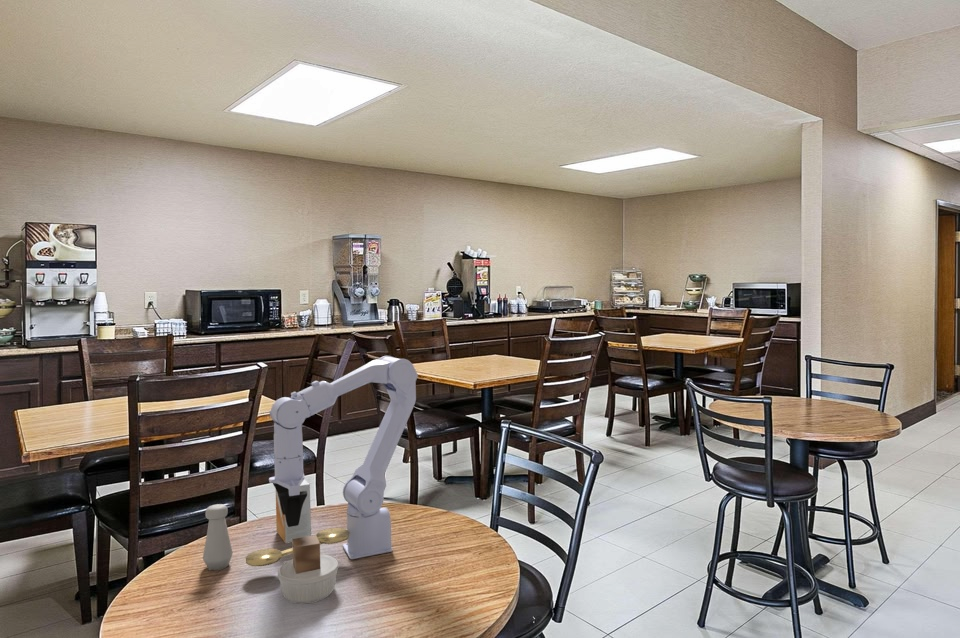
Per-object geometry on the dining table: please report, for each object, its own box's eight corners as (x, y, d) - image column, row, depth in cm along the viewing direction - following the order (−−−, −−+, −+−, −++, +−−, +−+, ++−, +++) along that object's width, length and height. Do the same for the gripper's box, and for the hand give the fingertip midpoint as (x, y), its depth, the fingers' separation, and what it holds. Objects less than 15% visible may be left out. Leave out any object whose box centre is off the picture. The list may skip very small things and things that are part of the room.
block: (316, 559, 121) (315, 534, 121) (320, 568, 117) (319, 543, 117) (293, 564, 119) (292, 538, 119) (296, 573, 115) (295, 547, 115)
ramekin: (266, 595, 118) (266, 568, 117) (315, 574, 126) (315, 549, 126) (301, 614, 111) (300, 585, 110) (350, 590, 119) (349, 563, 119)
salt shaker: (222, 573, 127) (220, 511, 126) (197, 571, 128) (195, 510, 127) (238, 561, 132) (236, 502, 132) (214, 559, 134) (212, 500, 133)
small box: (276, 532, 148) (274, 479, 148) (302, 527, 152) (301, 475, 151) (284, 544, 141) (283, 488, 141) (312, 538, 145) (310, 483, 144)
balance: (345, 552, 136) (345, 525, 136) (353, 565, 130) (352, 537, 130) (245, 571, 127) (244, 543, 127) (247, 586, 121) (246, 556, 121)
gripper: (264, 449, 133) (266, 511, 133) (272, 466, 119) (274, 535, 120) (298, 445, 136) (299, 506, 136) (309, 462, 122) (311, 528, 123)
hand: (290, 519), depth 128 cm, fingers open, 7 cm apart
